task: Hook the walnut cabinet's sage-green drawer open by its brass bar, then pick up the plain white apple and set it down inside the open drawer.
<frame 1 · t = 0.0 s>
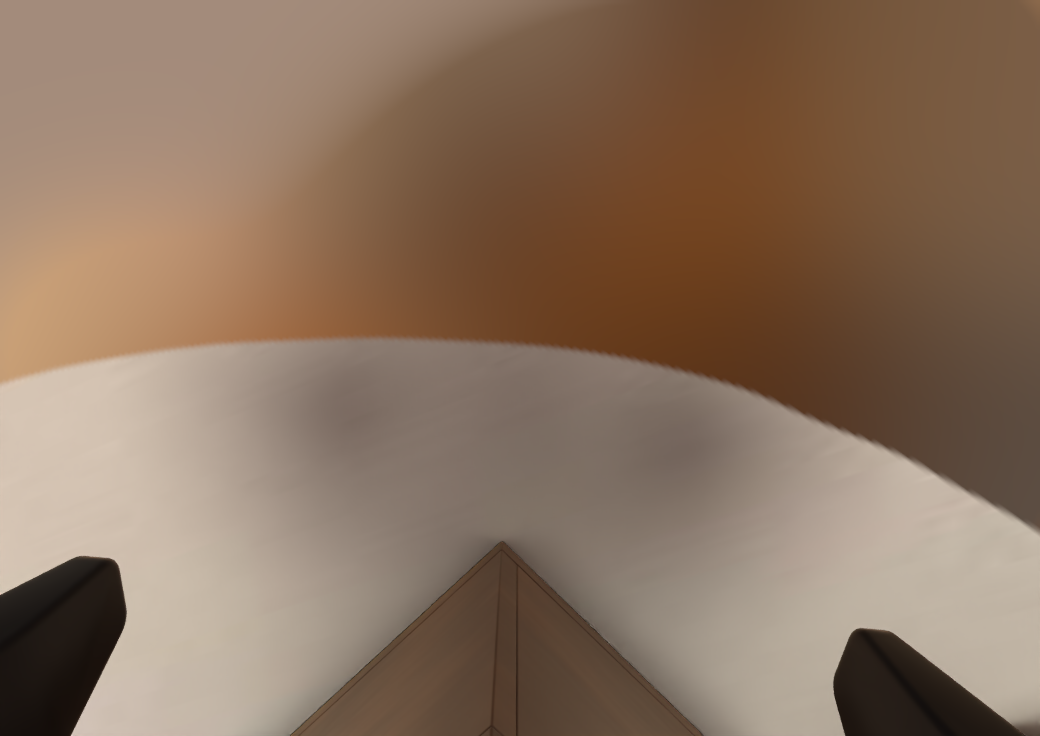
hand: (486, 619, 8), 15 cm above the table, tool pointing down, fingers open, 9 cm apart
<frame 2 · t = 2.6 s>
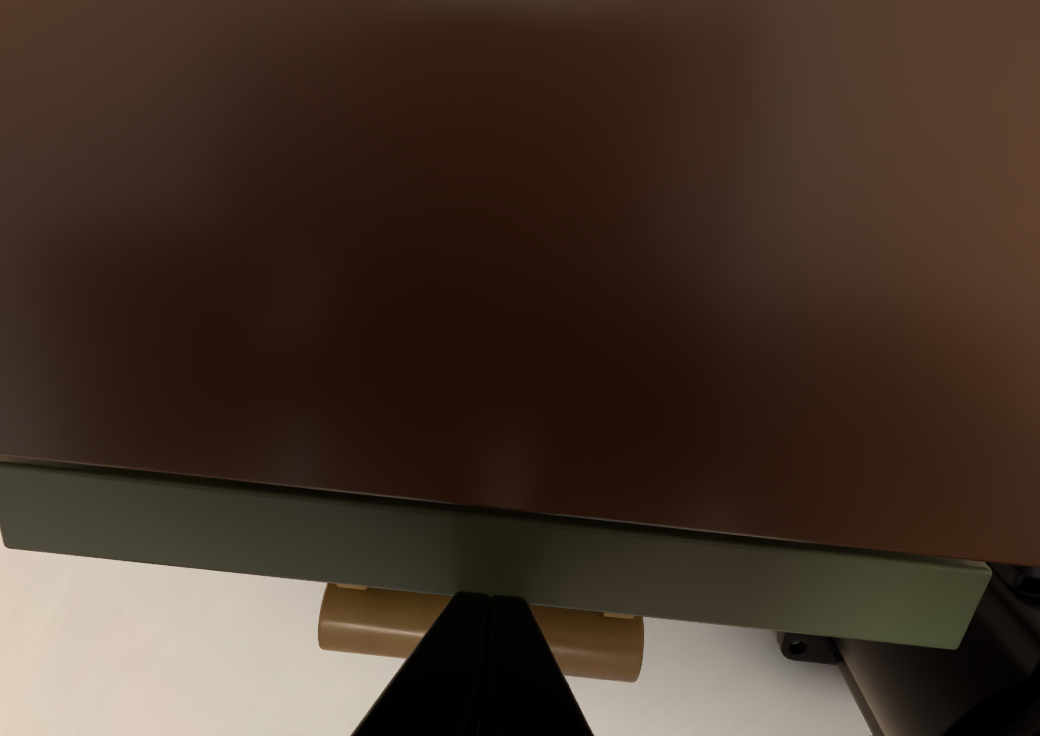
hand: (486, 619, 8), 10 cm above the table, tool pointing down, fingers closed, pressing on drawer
drawer: (531, 179, 10), point 5 cm above the table, slide at 0.7 cm, touching gripper
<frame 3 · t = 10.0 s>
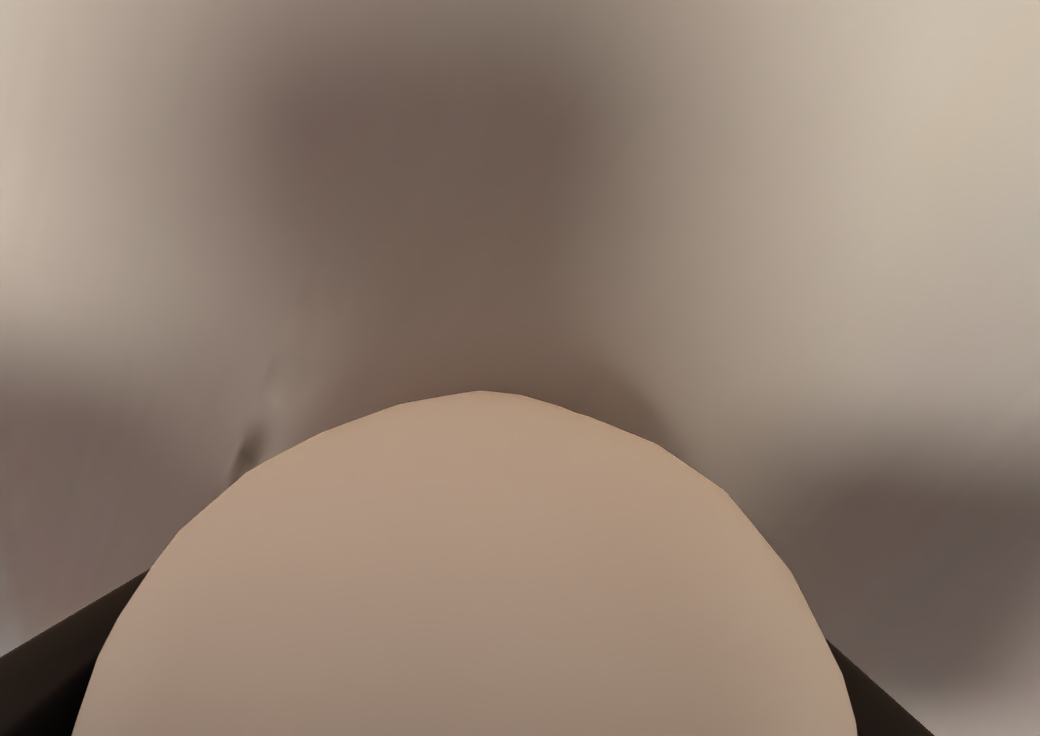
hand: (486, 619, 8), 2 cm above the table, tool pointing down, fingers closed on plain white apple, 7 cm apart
plain white apple: (497, 510, 10), on the table, touching gripper
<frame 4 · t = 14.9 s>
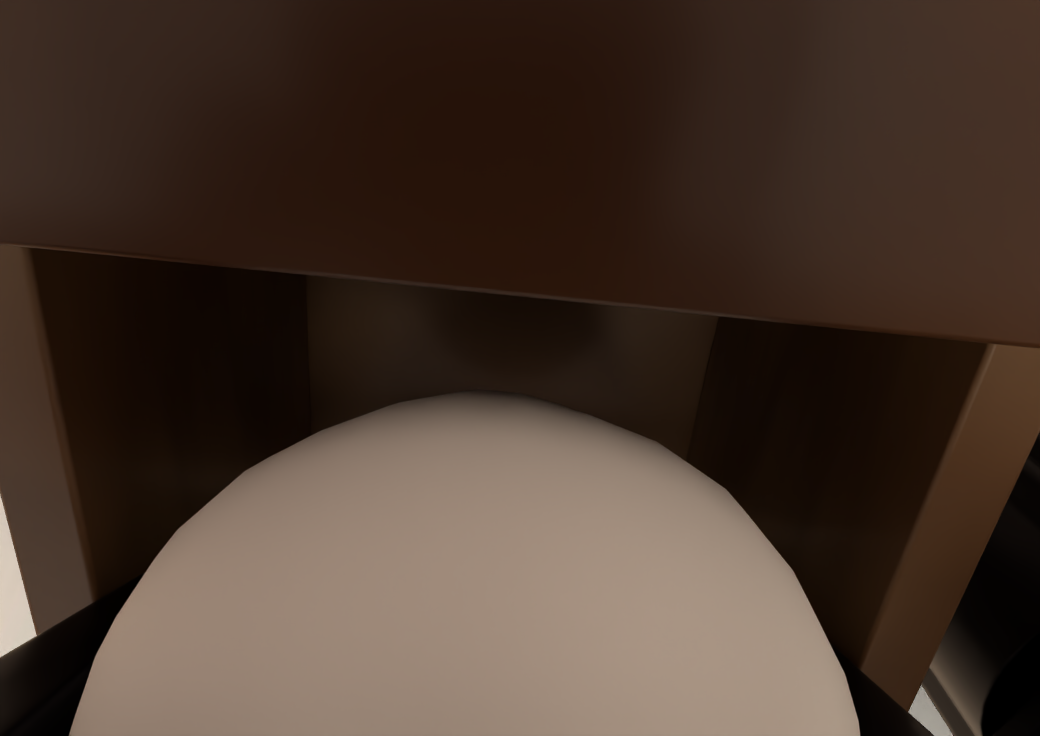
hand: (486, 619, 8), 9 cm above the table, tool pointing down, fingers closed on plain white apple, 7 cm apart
drawer: (492, 516, 12), point 5 cm above the table, slide at 8.9 cm
plain white apple: (497, 510, 10), point 7 cm above the table, touching gripper
when the fingers open (9 cm above the table, at t = 20.1 s): plain white apple stays where it is, resting on drawer.
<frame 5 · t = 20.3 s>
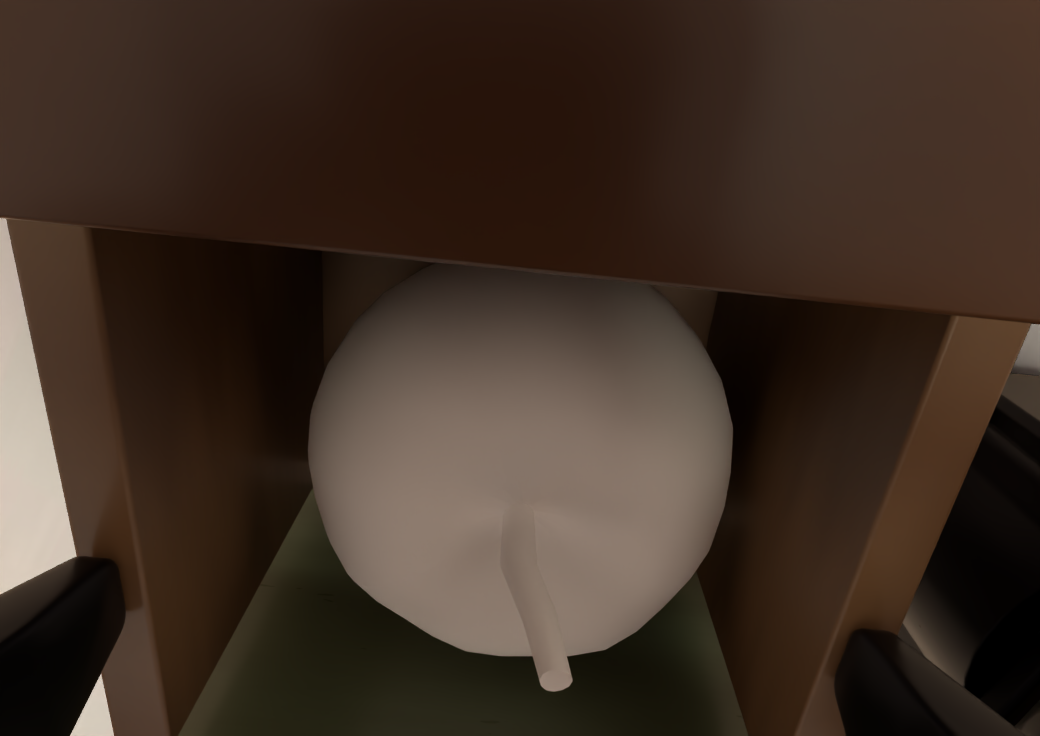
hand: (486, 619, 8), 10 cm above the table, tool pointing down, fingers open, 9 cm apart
drawer: (499, 494, 13), point 5 cm above the table, slide at 8.9 cm, touching plain white apple, gripper
plain white apple: (520, 363, 15), point 2 cm above the table, touching drawer
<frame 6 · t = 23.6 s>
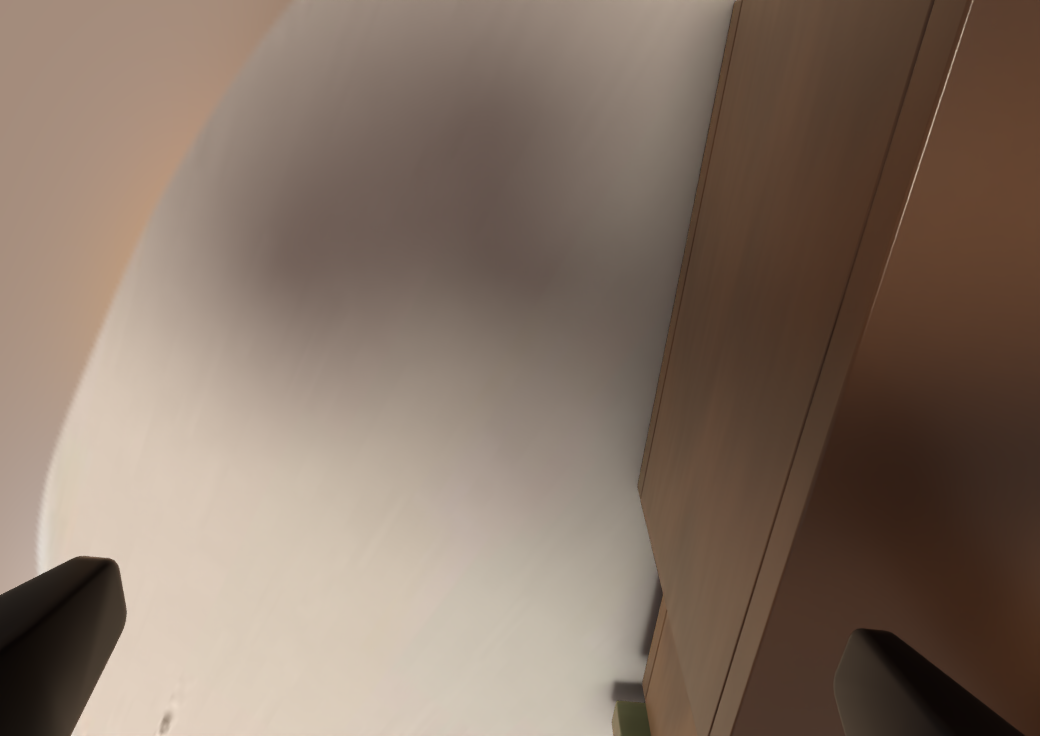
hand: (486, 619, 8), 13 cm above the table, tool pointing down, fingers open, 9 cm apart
cabinet: (888, 301, 20), on the table
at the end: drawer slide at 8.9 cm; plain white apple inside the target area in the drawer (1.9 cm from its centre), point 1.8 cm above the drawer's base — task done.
